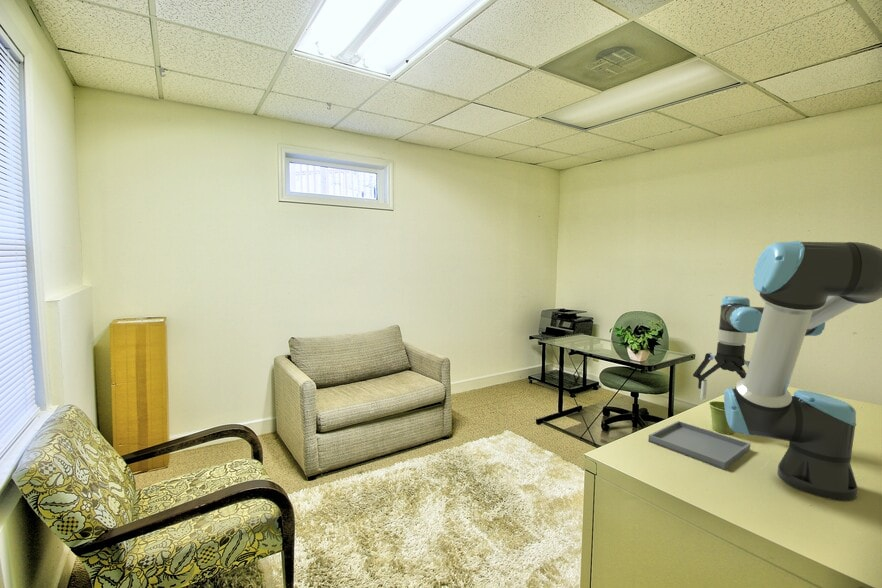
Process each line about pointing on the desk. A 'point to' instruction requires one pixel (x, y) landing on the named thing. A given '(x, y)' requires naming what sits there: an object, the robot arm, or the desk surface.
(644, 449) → the desk surface
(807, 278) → the robot arm
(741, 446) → the tray
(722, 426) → the plant pot
